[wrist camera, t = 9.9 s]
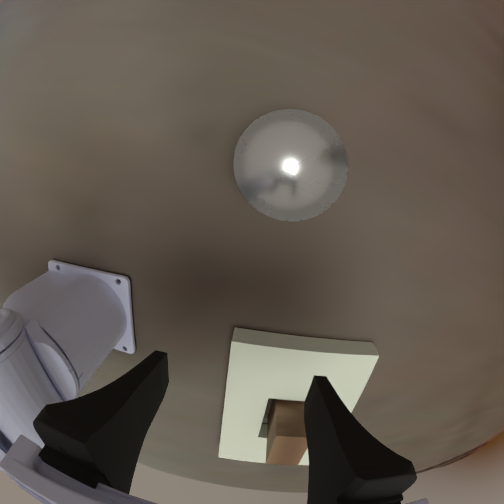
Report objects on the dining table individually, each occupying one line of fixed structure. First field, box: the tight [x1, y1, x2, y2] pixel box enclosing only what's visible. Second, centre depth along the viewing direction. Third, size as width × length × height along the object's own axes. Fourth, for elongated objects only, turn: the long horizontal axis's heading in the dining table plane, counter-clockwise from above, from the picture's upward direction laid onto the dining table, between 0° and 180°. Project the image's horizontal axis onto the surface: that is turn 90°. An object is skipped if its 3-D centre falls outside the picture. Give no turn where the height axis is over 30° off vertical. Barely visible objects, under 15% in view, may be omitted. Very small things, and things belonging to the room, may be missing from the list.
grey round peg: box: [233, 109, 348, 222], centre depth 16 cm, size 6×6×6 cm
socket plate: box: [219, 327, 379, 465], centre depth 24 cm, size 12×18×2 cm, turn 173°
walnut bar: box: [266, 399, 308, 465], centre depth 22 cm, size 3×5×6 cm, turn 173°
